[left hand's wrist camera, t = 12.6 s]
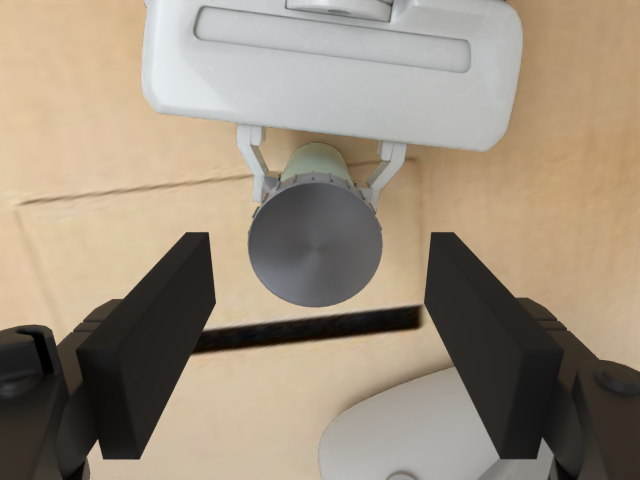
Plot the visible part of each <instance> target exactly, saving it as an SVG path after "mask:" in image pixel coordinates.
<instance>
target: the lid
mask: <svg viewBox="0 0 640 480" xmlns="http://www.w3.org/2000/svg"><path fill="white" fill-rule="evenodd" d="M375 214H376V212H375V210H374V208H373V206H372V204H371V203H369V202H368V200H367V199H366V198H365V196H364V194H363V191H362V190H361V189H360V190H358V188H356V187H355V186H354V185H353V184H351V183H350V182H349V180H348V179H346V180H345V179H343V178H340V177H338V176H335V175H332V173H330V174H327V173H320V172H314V171H312V172H311V173H303V174H299V175H297V174H294V176H293V177H290V178H288V179H286V180H284V181H283V182H281V181H279V182H278V184H277V186H275V187H274V188H273V189H272V190H271V191H270V192H269V193H268V192H267V193H266V194H265V196H264V198H263V200H262V203H261V205H260V207H257V209H256V211H255V212H254V214H253V216H252V218H254V219H253V221H252V224H251V226H250V229H249V231H248V254H249V258H250V262H251V265H252V268H253V270H254V272H255V273H256V275H257V277H258V278H259V280H260V281H261V282H262V283H263V285H264V286H265V287H266V288H267V289H268V290H270V291H271V292H272V293H273V294H275V295H276V296H278V297H279V298H281V299H283V300H285V301H287V302H290V303H292V304H295V305H300V306H305V307H326V306H331V305H335V304H338V303H341V302H344V301H346V300H348V299H350V298H351V297H353V296H354V295H356V294H357V293H359V292H360V291H361V290H362V289H363V288H364V287H365V286H366V285H367V284H368V283H369V282H370V280H371V279H372V277H373V276H374V274H375V272H376V270H377V268H378V266H379V263H380V260H381V255H382V247H383V245H382V234H381V230H382V228H381V226H380V224H379V222H378V220H377V218H376V216H375Z"/></svg>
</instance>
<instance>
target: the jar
mask: <svg viewBox="0 0 640 480" xmlns="http://www.w3.org/2000/svg"><path fill="white" fill-rule="evenodd" d="M312 171H314V172H320V173H327V174H330V173H332V175H335V176H338V177H340V178H343V179H345V180H346V179H348V180H349V182H350V183H351V184H353V181H352V179H351V176H350V174H349V171H348V169H347V166H346V163H345V161H344V159H343V157H342V156H341V154H340V153H339V152H338V151H337V150H336V149H335V148H333V147H331V146H330V145H327V144H324V143H309V144H306V145H303V146H301V147H300V148H298V149H297V150H296V151H295V152H294V153H293V154H292V155H291V157H290V159H289V161H288V163H287V165H286V167H285V170H284V172H283V174H282V177H281V179H280V181H281V182H283V181H284V180H286V179H288V178H290V177H293V176H294V174H297V175H299V174H303V173H311V172H312ZM353 185H354V184H353Z"/></svg>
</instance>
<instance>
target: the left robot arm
mask: <svg viewBox="0 0 640 480" xmlns="http://www.w3.org/2000/svg"><path fill="white" fill-rule="evenodd" d="M215 304H216V299H215V289H214V279H213V270H212V260H211V251H210V241H209V232H186V233H185V234H184V235H183V236H182V237H181V239H180V240H179V241H178V242H177V243H176V244H175V245H174V246H173V247H172V248H171V249H170V250H169V251H168V252H167V253H166V254H165V255H164V257H163V258H162V259H161V260H160V261H159V262H158V263H157V264H156V265H155V266H154V267H153V268H152V269H151V270H150V271H149V272H148V274H147V275H146V276H145V277H144V278H143V279H142V280H141V281H140V282H139V283H138V284H137V285H136V286H135V287H134V288H133V289H132V291H131V292H130V293H129V294H128V295H127V296H126V297H125V298H124V299H112V300H110V301H108V302H107V303H105V304H103V305H101V306H99V307H97V308H96V309H94V310H93V311H92V312H91V313H90V314H89V315H88V316H87V317H86V318H85V319H84V320H83V323H80V324H79V325H78V326H77V327H76V328H75V329H74V330H73V332H71V333H70V334H69V335H68V336H67V337H66V338H65V339H63V340H62V341H61V342H60V343H59V344H58V345H57V346H56V343H55V340H54V336H53V332H52V330H51V329H49V328H48V327H46V326H42V325H24V326H17V327H13V328H9V329H5V330H2V331H0V480H89V479H90V468H89V463H88V459H87V455H88V454H89V452H90V450H91V449H92V447H93V446H94V444H95V443H96V441H97V439H98V441H99V445H100V448H101V452H102V456H103V459H140V457H141V455H142V453H143V451H144V449H145V447H146V445H147V443H148V441H149V439H150V437H151V435H152V433H153V431H154V429H155V427H156V425H157V423H158V421H159V419H160V416H161V414H162V412H163V410H164V408H165V406H166V404H167V402H168V400H169V398H170V396H171V394H172V392H173V390H174V388H175V386H176V384H177V382H178V380H179V378H180V376H181V374H182V371H183V369H184V367H185V365H186V363H187V361H188V359H189V357H190V355H191V353H192V351H193V349H194V347H195V345H196V343H197V341H198V339H199V337H200V335H201V333H202V331H203V329H204V327H205V324H206V322H207V320H208V318H209V316H210V314H211V312H212V310H213V308H214V306H215ZM424 304H425V306H426V308H427V310H428V312H429V314H430V316H431V318H432V320H433V322H434V324H435V327H436V329H437V331H438V333H439V335H440V337H441V339H442V341H443V343H444V345H445V347H446V349H447V351H448V353H449V355H450V357H451V359H452V361H453V363H454V365H455V367H456V369H457V371H458V374H459V376H460V378H461V380H462V382H463V384H464V386H465V388H466V390H467V392H468V394H469V396H470V398H471V400H472V402H473V404H474V406H475V408H476V410H477V412H478V414H479V416H480V419H481V421H482V423H483V425H484V427H485V429H486V431H487V433H488V435H489V437H490V439H491V441H492V443H493V445H494V447H495V449H496V451H497V453H498V455H499V457H500V459H537V456H538V452H539V448H540V445H541V441H542V437H543V439H544V440H545V442H546V444H547V445H548V447H549V448H550V450H551V451H552V453H553V454H554V456H553V459H552V463H551V467H550V470H549V474H548V478H547V480H640V372H639V371H636V370H634V369H632V368H630V367H628V366H626V365H622V364H619V363H615V362H612V361H606V360H599V359H598V358H597V357H596V356H595V355H594V354H593V353H592V352H591V351H590V350H589V349H588V348H587V347H586V346H585V345H584V344H583V343H582V342H581V341H580V340H579V339H577V338H576V337H575V336H574V335H573V334H572V333H571V332H570V331H567V328H566V327H565V326H564V325H563V324H562V323H561V322H560V321H557V318H556V317H555V316H554V315H553V314H552V313H551V312H549V311H548V310H547V309H546V308H545V307H544V306H542V305H540V304H538V303H536V302H534V301H533V300H531V299H529V298H515V297H514V296H513V295H512V294H511V293H510V292H509V291H508V289H507V288H506V287H505V286H504V285H503V284H502V283H501V282H500V281H499V280H498V279H497V278H496V277H495V276H494V275H493V274H492V272H491V271H490V270H489V269H488V268H487V267H486V266H485V265H484V264H483V263H482V262H481V261H480V260H479V259H478V258H477V257H476V255H475V254H474V253H473V252H472V251H471V250H470V249H469V248H468V247H467V246H466V245H465V244H464V243H463V242H462V241H461V240H460V239H459V237H458V236H457V235H456V234H455V233H454V232H431V241H430V251H429V260H428V270H427V279H426V289H425V299H424Z"/></svg>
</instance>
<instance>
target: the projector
mask: <svg viewBox="0 0 640 480" xmlns="http://www.w3.org/2000/svg"><path fill="white" fill-rule="evenodd" d="M553 456H554V454H553V453H552V451H551V450H550V448H549V447H548V445H547V444H546V442H545V440H544V439H543V437H542V441H541V445H540V448H539V452H538V456H537V459H500V457H499V455H498V453H497V451H496V449H495V447H494V445H493V443H492V441H491V439H490V437H489V435H488V433H487V431H486V429H485V427H484V425H483V423H482V421H481V419H480V416H479V414H478V412H477V410H476V408H475V406H474V404H473V402H472V400H471V398H470V396H469V394H468V392H467V390H466V388H465V386H464V384H463V382H462V380H461V378H460V376H459V374H458V371H457V369H456V367H451V368H448V369H444V370H441V371H437V372H434V373H431V374H428V375H425V376H422V377H419V378H416V379H414V380H411V381H408V382H406V383H403V384H400V385H398V386H395V387H393V388H390V389H388V390H386V391H383V392H381V393H379V394H376V395H374V396H372V397H370V398H367V399H365V400H363V401H361V402H359V403H358V404H356V405H354V406H352V407H350V408H349V409H347V410H345V411H344V412H342V413H341V414H340V415H338V416H337V417H336V418H335V419H334V420H333V421H332V422H331V423H330V424H329V425H328V426H327V428H326V429H325V431H324V433H323V435H322V437H321V440H320V443H319V450H318V460H319V469H320V475H321V479H322V480H547V478H548V474H549V470H550V467H551V463H552V459H553Z"/></svg>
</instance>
